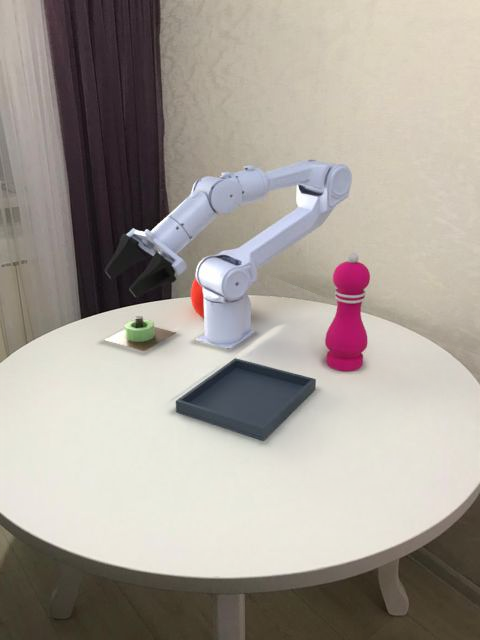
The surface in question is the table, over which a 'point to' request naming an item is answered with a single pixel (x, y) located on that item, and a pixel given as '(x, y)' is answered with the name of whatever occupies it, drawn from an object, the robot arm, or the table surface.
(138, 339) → the ring
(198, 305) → the tomato
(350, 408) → the table surface
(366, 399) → the table surface
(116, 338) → the stand
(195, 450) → the table surface
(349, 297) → the pepper mill
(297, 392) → the tray
